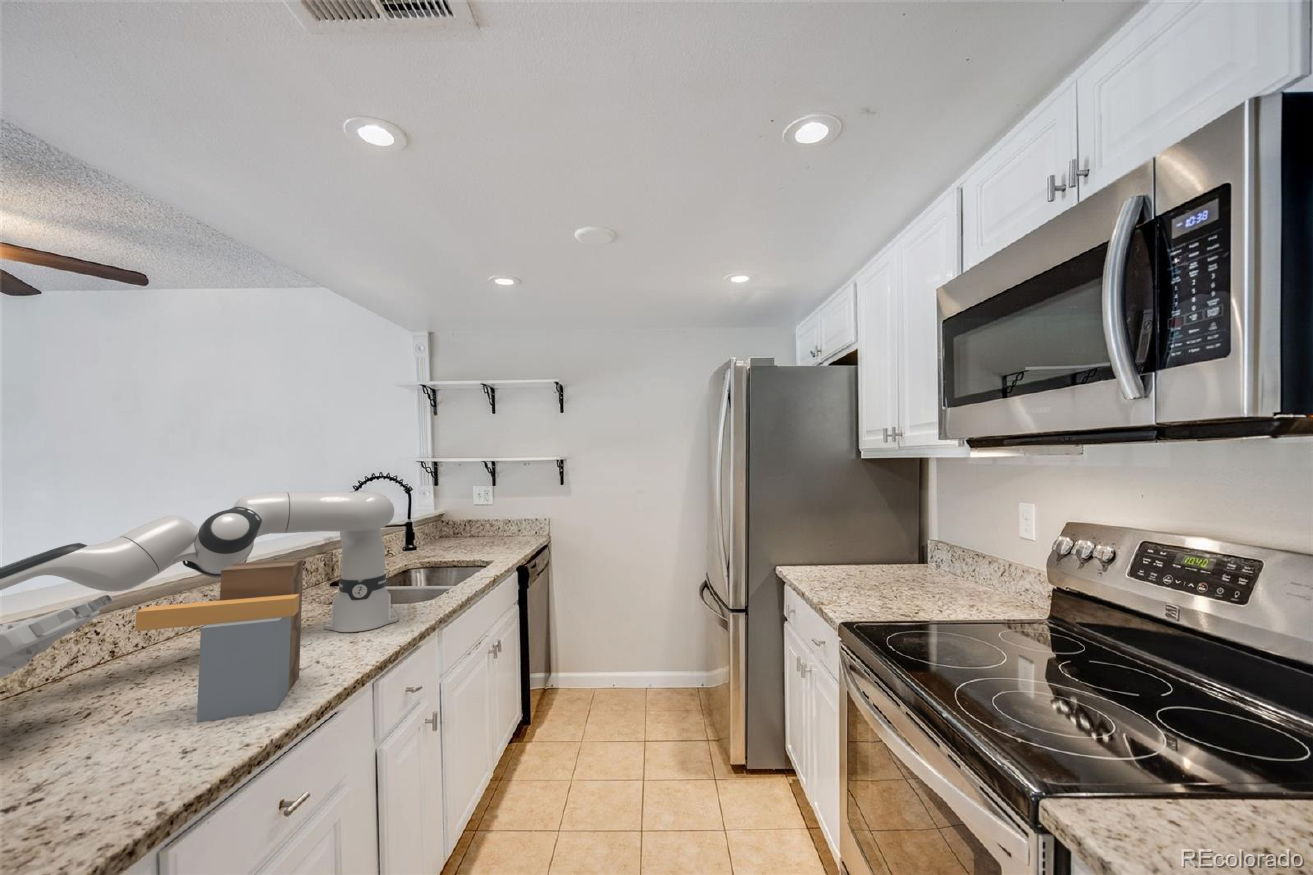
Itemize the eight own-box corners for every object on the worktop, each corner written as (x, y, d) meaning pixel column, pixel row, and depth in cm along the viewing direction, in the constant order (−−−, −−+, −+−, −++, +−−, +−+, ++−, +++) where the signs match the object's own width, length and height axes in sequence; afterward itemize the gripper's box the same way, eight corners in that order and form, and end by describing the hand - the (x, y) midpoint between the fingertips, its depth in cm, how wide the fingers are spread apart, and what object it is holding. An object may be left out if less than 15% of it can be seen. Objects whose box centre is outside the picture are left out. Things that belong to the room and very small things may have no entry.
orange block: (146, 625, 94) (146, 606, 94) (298, 611, 103) (299, 594, 104) (135, 631, 91) (136, 611, 91) (293, 616, 100) (294, 598, 100)
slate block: (215, 703, 99) (219, 616, 100) (288, 692, 104) (291, 609, 105) (196, 722, 92) (200, 628, 93) (276, 710, 97) (279, 620, 97)
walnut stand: (231, 686, 107) (236, 563, 108) (299, 677, 111) (303, 558, 113) (215, 703, 99) (221, 570, 101) (288, 692, 104) (292, 565, 105)
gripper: (-77, 658, 75) (38, 604, 80) (29, 619, 94) (117, 577, 99) (-50, 692, 76) (62, 637, 81) (50, 647, 95) (136, 604, 100)
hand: (93, 604), depth 90 cm, fingers open, 8 cm apart
